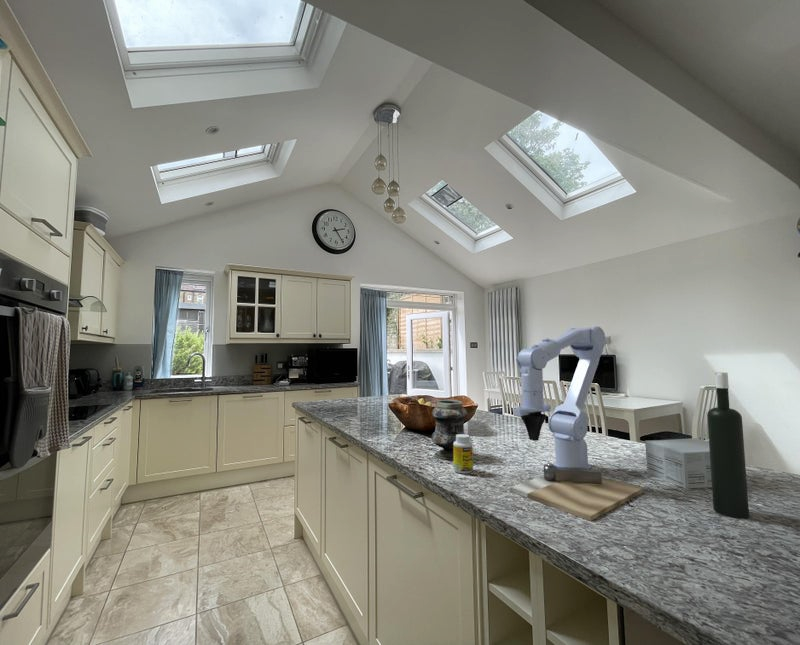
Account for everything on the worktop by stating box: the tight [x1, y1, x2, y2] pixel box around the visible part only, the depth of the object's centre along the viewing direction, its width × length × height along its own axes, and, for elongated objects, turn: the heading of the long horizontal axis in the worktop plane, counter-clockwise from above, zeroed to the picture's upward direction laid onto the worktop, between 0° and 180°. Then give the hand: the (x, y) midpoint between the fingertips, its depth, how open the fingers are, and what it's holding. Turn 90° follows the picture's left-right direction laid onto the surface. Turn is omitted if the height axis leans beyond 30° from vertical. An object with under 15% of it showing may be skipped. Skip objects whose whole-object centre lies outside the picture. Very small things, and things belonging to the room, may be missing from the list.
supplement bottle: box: [453, 433, 474, 475], centre depth 108 cm, size 6×6×10 cm
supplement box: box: [644, 437, 712, 489], centre depth 102 cm, size 17×13×9 cm
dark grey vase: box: [431, 399, 468, 461], centre depth 125 cm, size 12×12×18 cm
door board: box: [509, 467, 645, 522], centre depth 92 cm, size 26×20×4 cm
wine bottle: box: [706, 371, 750, 520], centre depth 81 cm, size 6×6×30 cm
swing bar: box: [543, 462, 603, 484], centre depth 96 cm, size 14×3×4 cm, turn 77°
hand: (533, 439), depth 104 cm, fingers closed
